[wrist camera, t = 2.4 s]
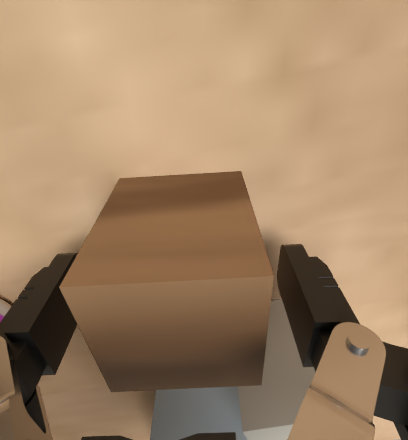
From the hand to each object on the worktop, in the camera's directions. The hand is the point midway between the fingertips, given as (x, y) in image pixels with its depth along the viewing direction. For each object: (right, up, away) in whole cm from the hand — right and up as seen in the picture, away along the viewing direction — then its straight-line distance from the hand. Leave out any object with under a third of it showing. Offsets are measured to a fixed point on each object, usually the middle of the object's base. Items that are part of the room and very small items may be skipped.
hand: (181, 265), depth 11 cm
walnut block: (0, +2, +2) cm, 2 cm away
